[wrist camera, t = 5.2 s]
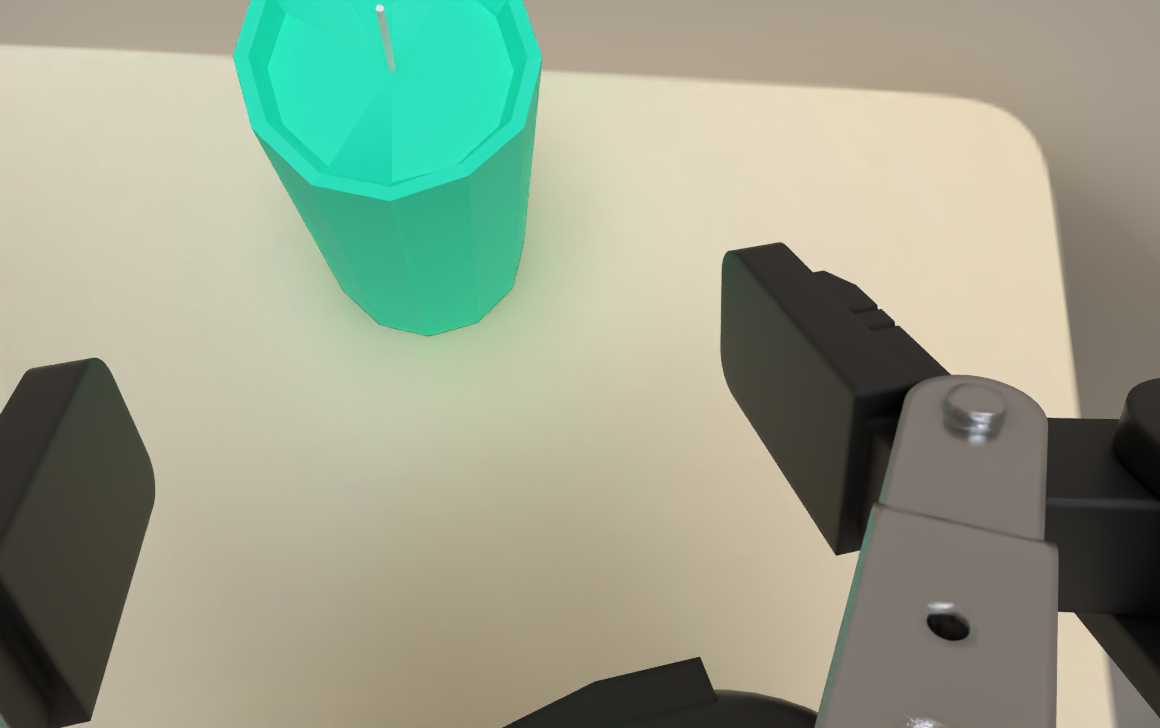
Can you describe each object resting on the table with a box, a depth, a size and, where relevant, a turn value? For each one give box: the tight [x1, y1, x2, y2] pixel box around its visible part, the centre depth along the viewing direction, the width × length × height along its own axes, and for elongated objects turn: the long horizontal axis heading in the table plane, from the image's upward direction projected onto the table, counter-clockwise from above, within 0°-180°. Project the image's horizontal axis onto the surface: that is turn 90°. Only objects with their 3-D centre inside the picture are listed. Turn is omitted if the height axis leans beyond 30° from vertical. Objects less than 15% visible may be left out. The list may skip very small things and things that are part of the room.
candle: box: [233, 0, 542, 336], centre depth 21 cm, size 6×6×12 cm
